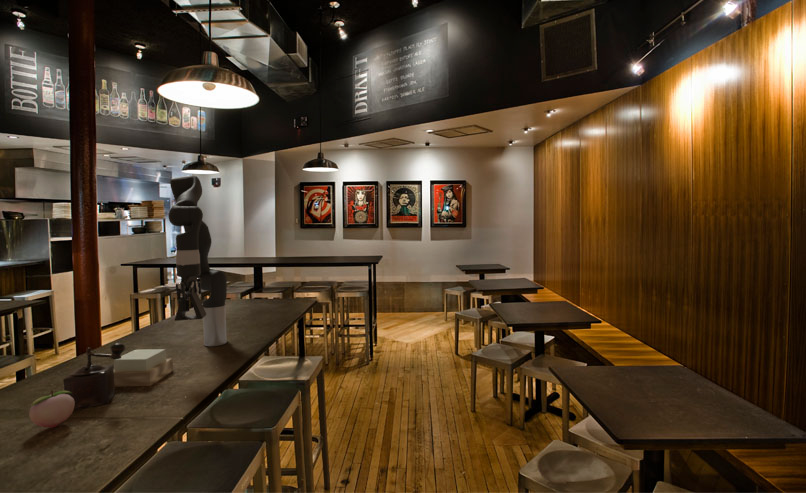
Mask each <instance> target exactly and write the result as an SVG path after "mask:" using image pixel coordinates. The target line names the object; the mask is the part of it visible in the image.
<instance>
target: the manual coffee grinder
mask: <svg viewBox="0 0 806 493" xmlns="http://www.w3.org/2000/svg"><path fill="white" fill-rule="evenodd" d="M85 350H86V354H85V356H87V362H86V363H87V364H86V365H83V366H82V367H78V368H75V369H74V370H72V371H71V372H70V373H69V374H68V375H67V376H65V377H64V378H63V391H69V392H71V393H66V394H68V395H70V396H71V397H72V398H73V399H74V402H75V405H74V410H80V409H88V408H92V407H97V406H101V405H106V404H108V403H109V402H110V401H111V400H112V398H113V397H114V396H115V392H116V389H115V388H116V386H115V385H114V363H113V364H112V363H111V364H103V365H101V364H97V363H93V362H92V357H96V358H97V357H98V358H110V359H113V361H114V360H115V359H120V358H121V356H122V354H123V352H124V351H126V345H125V344H124V343H122V342H116V343H115V342H114V343H113V344H112V345H110V351H111V353H112V354H110V353H109V354H108V353H107V354H106V353H93V352H92V347H87V348H86V349H85Z"/></svg>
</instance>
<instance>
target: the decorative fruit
mask: <svg viewBox="0 0 806 493" xmlns="http://www.w3.org/2000/svg"><path fill="white" fill-rule="evenodd" d="M66 393H71V392H69V391H64V390H59V391H55V392H54V390H51V393H50V394H49V395H45V396H41V397H39V398H37V399H35V400H34V401H33V402H31V405H30V409H29V412H28V413H29V414H28V416H29V419H30V420H31V422H32V423H33V424H34V425H36V426H39V427H42V428H52V429H53V428H56V427H57V426H58V425H60V424H61V423H63V422H65V421H66V420H67V419H69V418H70V416H71V415H72V414H73V411H75V409H74V405H75V402H74V399H73V398H72V397H71V396H70V395H68V394H66Z"/></svg>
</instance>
